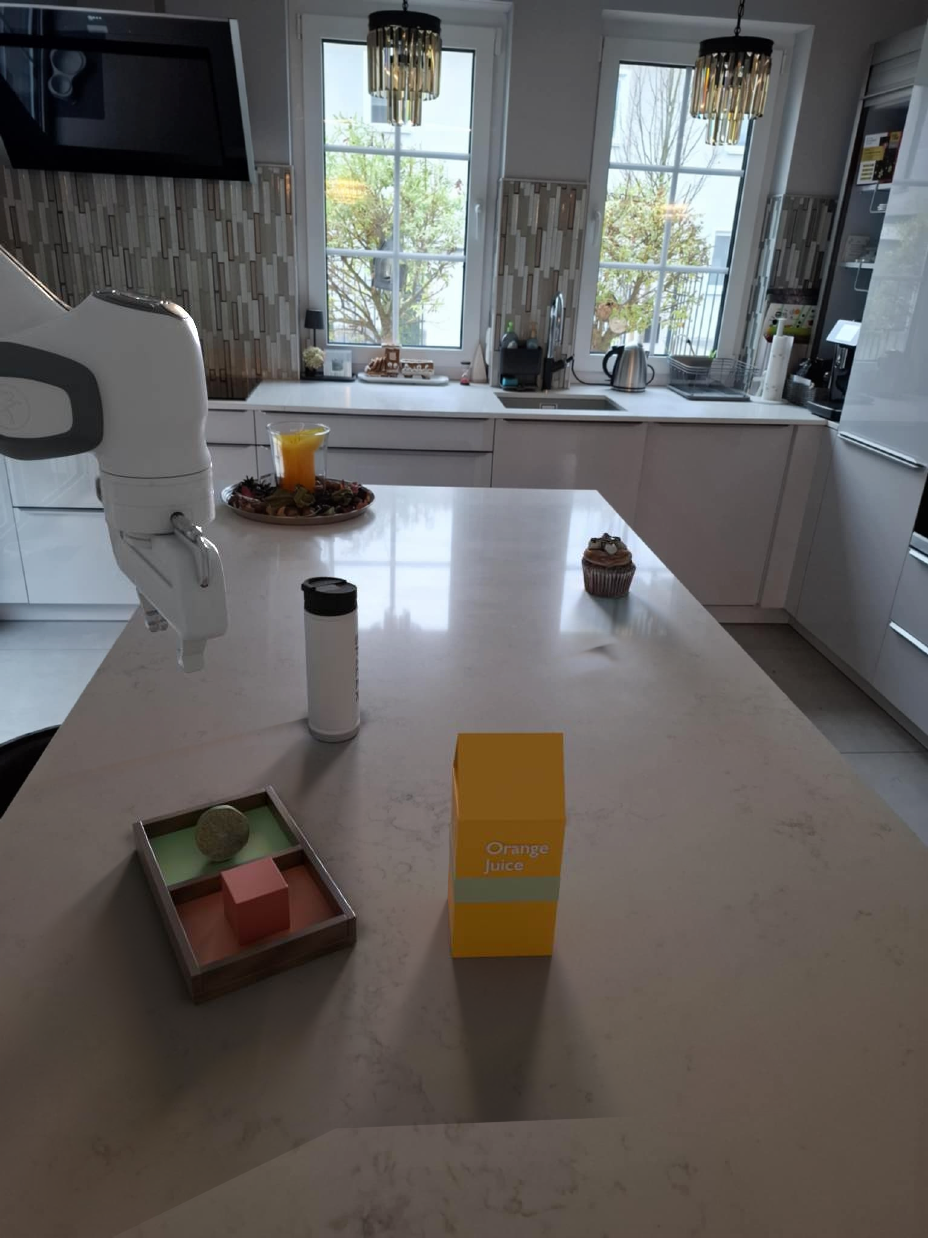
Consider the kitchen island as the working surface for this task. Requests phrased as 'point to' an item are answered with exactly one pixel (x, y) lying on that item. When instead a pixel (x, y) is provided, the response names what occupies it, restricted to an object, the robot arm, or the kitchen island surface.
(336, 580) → the travel mug
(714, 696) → the kitchen island surface
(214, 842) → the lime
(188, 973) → the sorting tray
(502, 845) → the orange juice
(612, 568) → the cupcake
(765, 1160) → the kitchen island surface
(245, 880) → the red block
